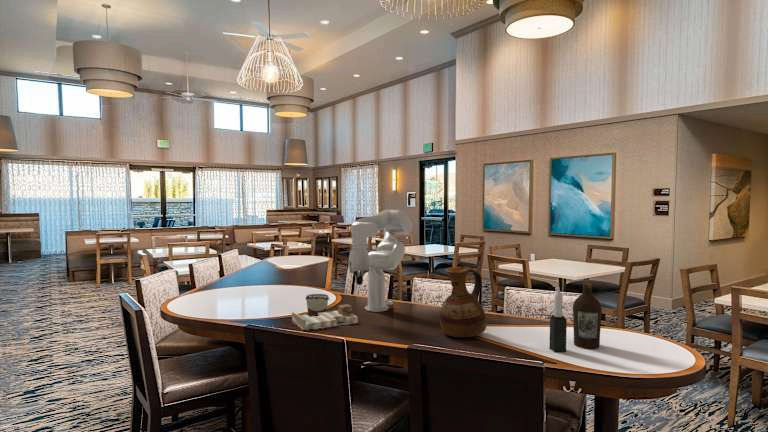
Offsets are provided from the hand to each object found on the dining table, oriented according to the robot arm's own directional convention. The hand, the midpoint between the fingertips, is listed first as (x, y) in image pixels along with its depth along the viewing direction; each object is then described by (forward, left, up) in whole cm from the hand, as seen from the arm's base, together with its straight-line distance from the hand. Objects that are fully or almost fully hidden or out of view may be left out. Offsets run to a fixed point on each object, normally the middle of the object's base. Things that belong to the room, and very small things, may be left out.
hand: (359, 284), depth 214 cm
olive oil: (-61, +83, -17) cm, 104 cm away
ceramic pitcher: (-27, +47, -17) cm, 57 cm away
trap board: (+18, 0, -17) cm, 25 cm away
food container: (+15, -17, -17) cm, 28 cm away
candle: (-46, +81, -17) cm, 95 cm away
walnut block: (+8, 0, -14) cm, 16 cm away
